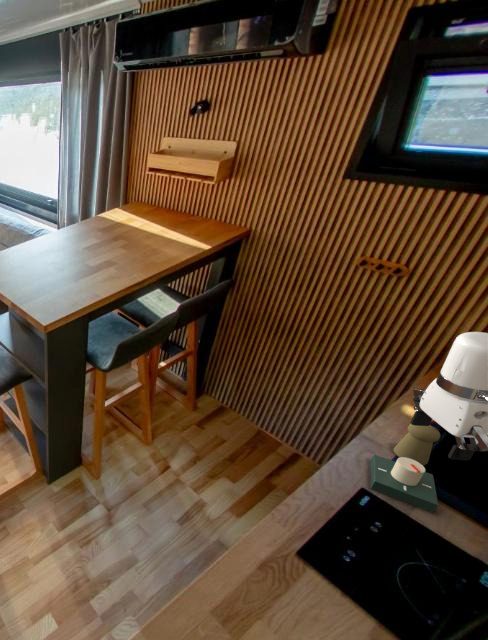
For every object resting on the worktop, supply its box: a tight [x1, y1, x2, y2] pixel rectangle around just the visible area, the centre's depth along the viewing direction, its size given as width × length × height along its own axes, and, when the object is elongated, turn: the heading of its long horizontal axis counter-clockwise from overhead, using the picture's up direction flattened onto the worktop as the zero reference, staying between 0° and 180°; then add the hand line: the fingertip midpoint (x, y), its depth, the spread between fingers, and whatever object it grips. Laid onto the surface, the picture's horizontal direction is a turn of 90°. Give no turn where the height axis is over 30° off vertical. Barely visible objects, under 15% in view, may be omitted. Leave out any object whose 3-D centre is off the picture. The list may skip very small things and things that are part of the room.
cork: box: [393, 423, 441, 466], centre depth 96 cm, size 6×6×11 cm
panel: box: [369, 454, 439, 513], centre depth 92 cm, size 10×10×3 cm
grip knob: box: [391, 457, 426, 486], centre depth 90 cm, size 4×4×5 cm
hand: (437, 440), depth 84 cm, fingers open, 9 cm apart
